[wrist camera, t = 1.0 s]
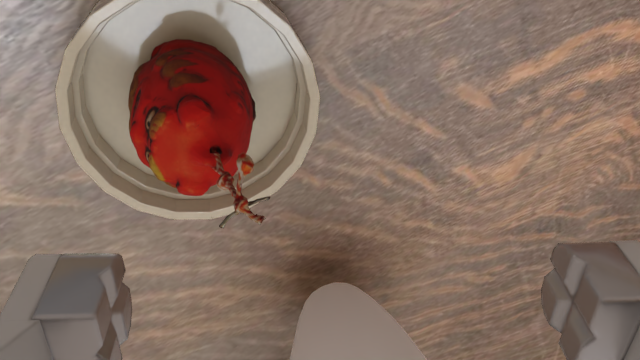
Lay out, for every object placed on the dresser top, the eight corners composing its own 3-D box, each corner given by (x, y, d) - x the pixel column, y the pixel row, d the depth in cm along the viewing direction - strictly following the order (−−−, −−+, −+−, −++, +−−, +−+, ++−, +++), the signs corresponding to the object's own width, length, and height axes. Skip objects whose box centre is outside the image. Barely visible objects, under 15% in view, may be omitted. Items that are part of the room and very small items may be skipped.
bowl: (56, -43, 31) (41, -31, 28) (320, -23, 34) (332, -9, 31) (79, 191, 38) (69, 221, 35) (298, 191, 41) (306, 219, 38)
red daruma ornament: (125, 29, 33) (82, 148, 21) (251, 29, 35) (285, 140, 22) (139, 151, 37) (111, 316, 24) (253, 147, 38) (282, 301, 26)
